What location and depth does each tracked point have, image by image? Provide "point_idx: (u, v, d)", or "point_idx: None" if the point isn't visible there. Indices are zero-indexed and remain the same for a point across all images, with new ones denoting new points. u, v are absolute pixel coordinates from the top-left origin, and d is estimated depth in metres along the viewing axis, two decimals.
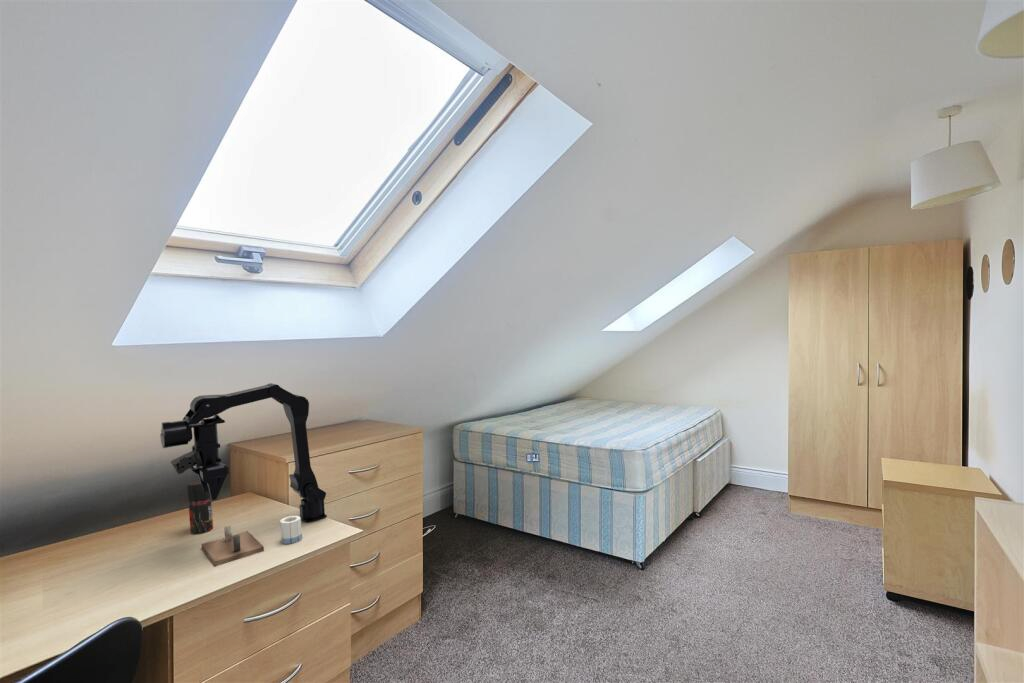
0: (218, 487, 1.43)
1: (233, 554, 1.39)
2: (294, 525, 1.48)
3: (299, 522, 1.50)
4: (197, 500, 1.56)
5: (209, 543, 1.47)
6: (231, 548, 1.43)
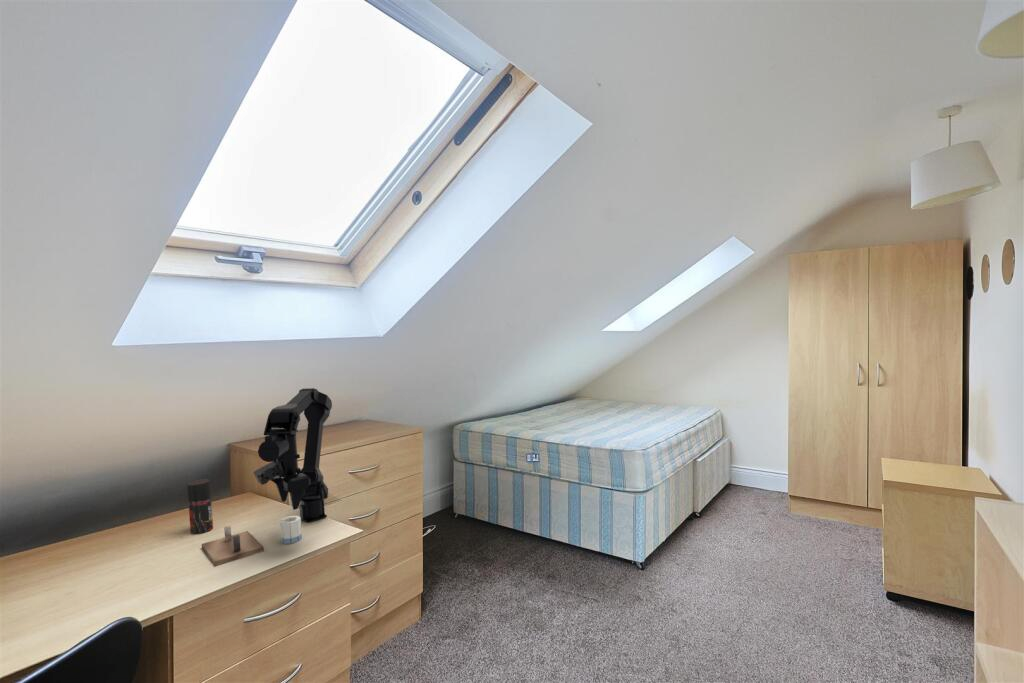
0: (299, 497, 1.46)
1: (233, 554, 1.39)
2: (294, 525, 1.48)
3: (299, 522, 1.50)
4: (197, 500, 1.56)
5: (209, 543, 1.47)
6: (231, 548, 1.43)
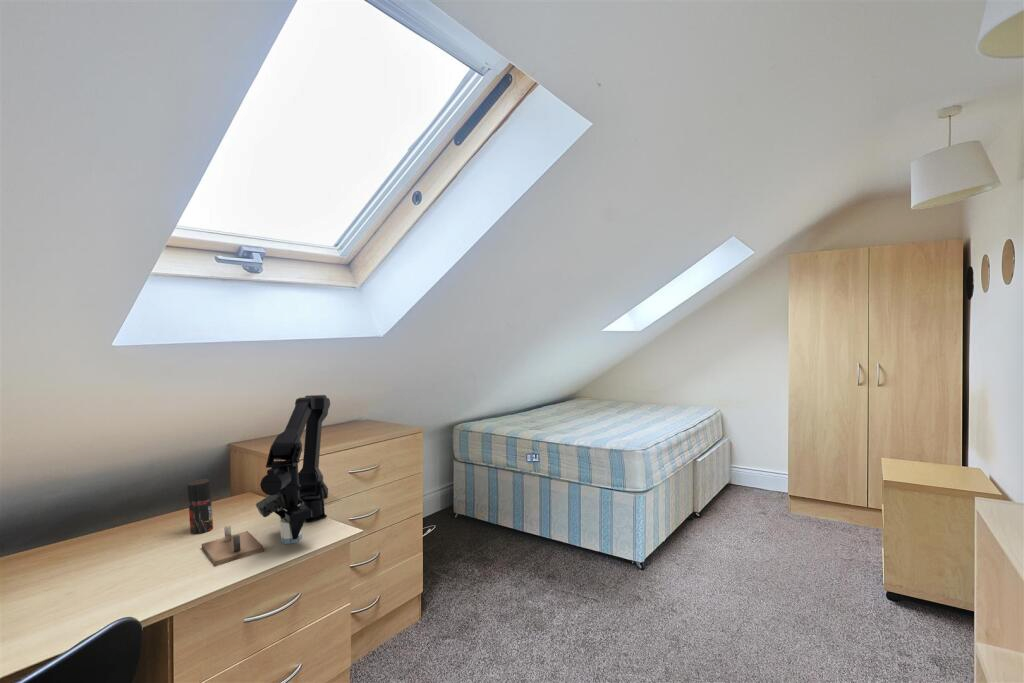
0: (299, 527, 1.48)
1: (233, 554, 1.39)
2: None
3: None
4: (197, 500, 1.56)
5: (209, 543, 1.47)
6: (231, 548, 1.43)
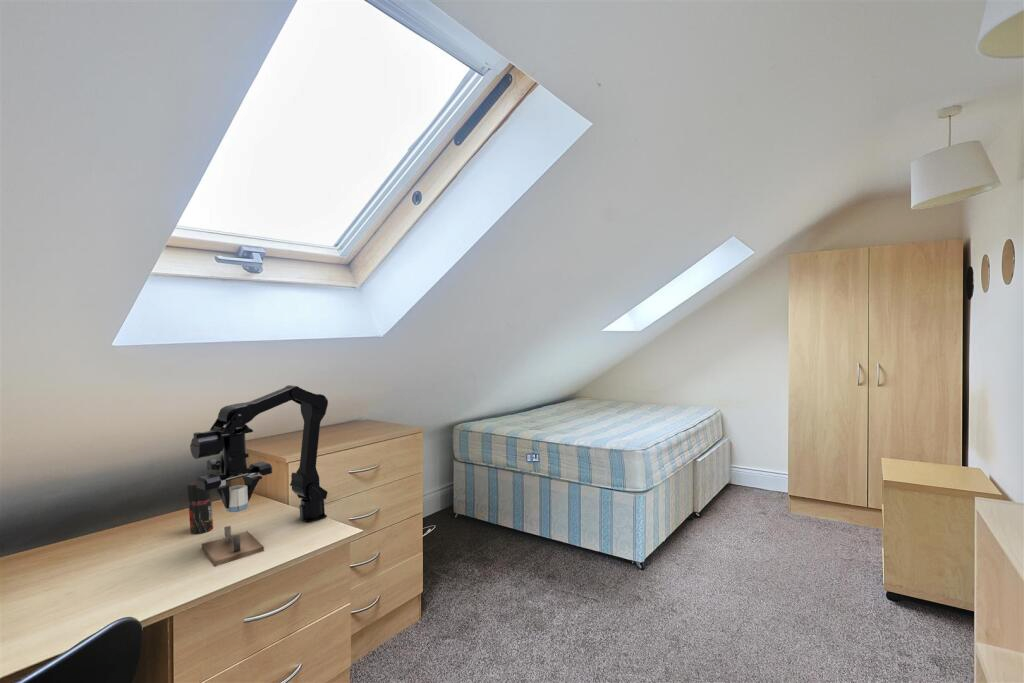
0: (223, 498, 1.44)
1: (233, 554, 1.39)
2: None
3: (233, 494, 1.45)
4: (197, 500, 1.56)
5: (209, 543, 1.47)
6: (231, 548, 1.43)
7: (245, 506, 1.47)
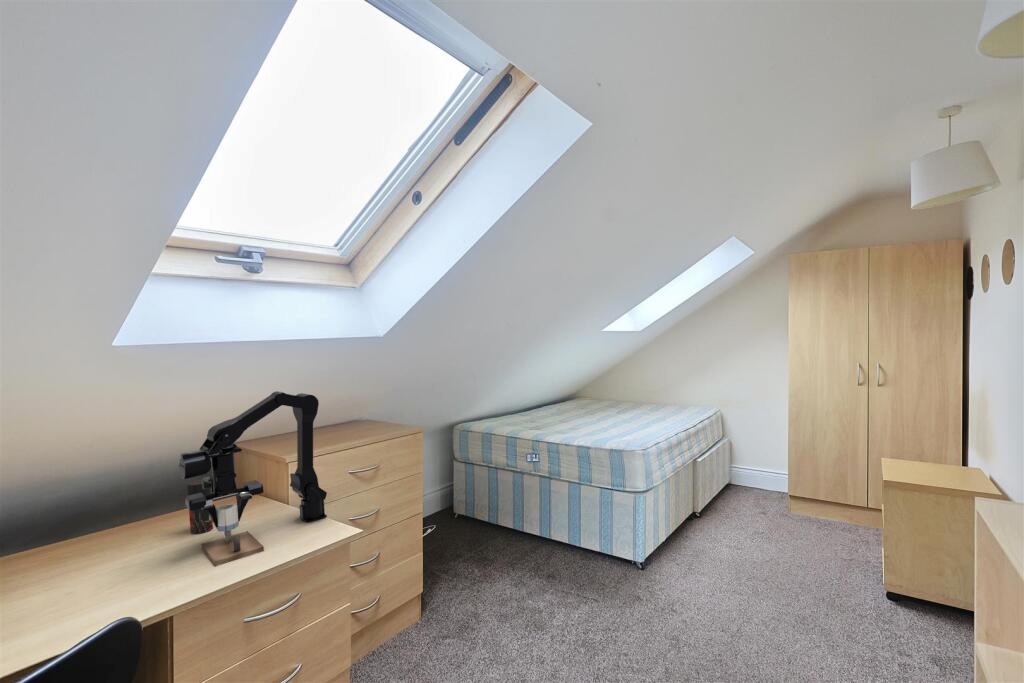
0: (211, 517, 1.44)
1: (233, 554, 1.39)
2: (216, 513, 1.46)
3: (221, 513, 1.45)
4: None
5: (209, 543, 1.47)
6: (231, 548, 1.43)
7: (234, 526, 1.47)
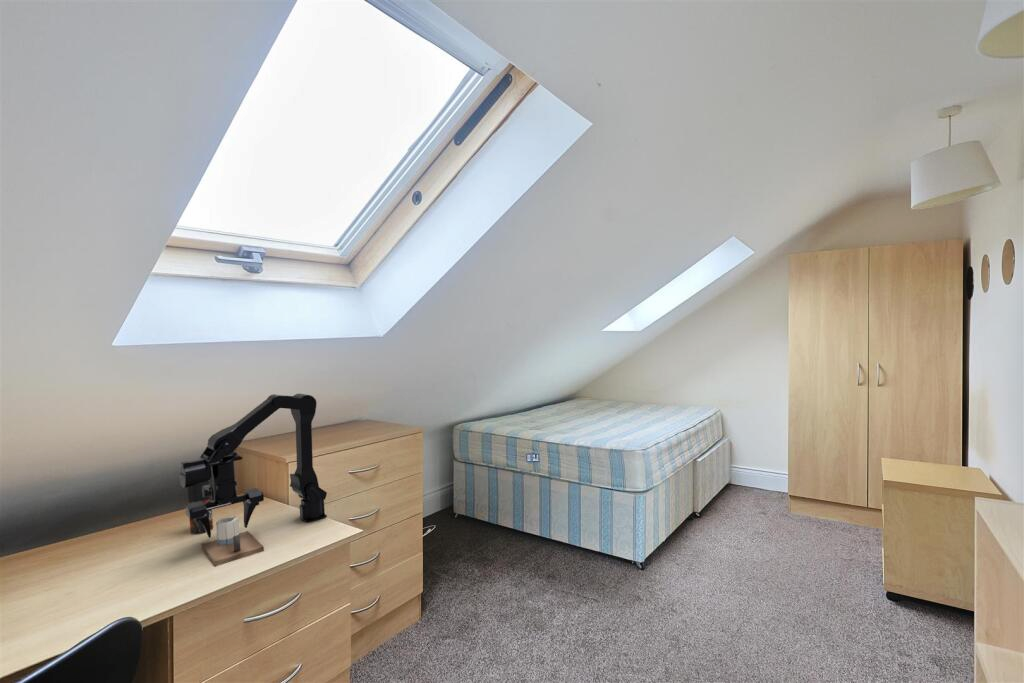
0: (204, 527, 1.43)
1: (233, 554, 1.39)
2: (217, 526, 1.46)
3: (222, 527, 1.45)
4: (197, 500, 1.56)
5: (209, 543, 1.47)
6: (231, 548, 1.43)
7: None
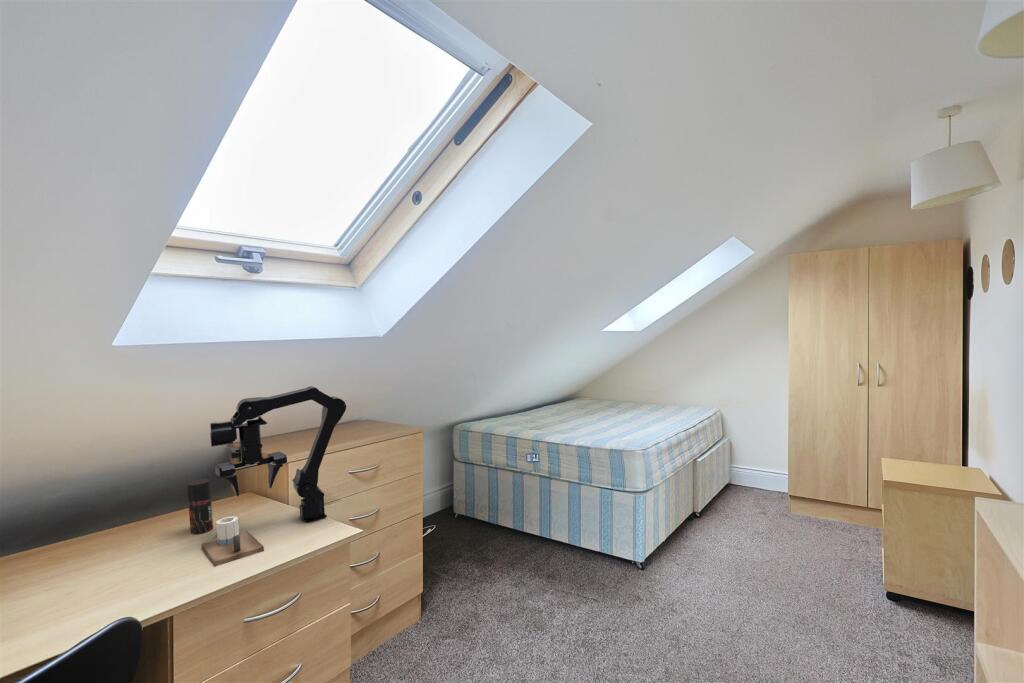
0: (233, 486, 1.52)
1: (233, 554, 1.39)
2: (217, 526, 1.46)
3: (222, 527, 1.45)
4: (197, 500, 1.56)
5: (209, 543, 1.47)
6: (231, 548, 1.43)
7: None
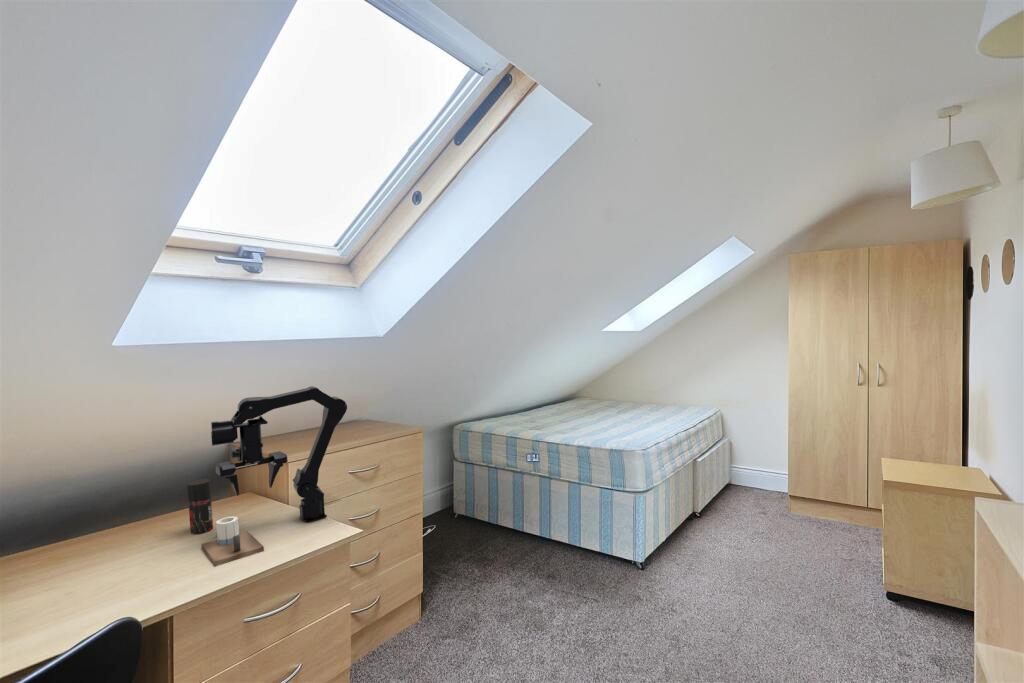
0: (233, 485, 1.53)
1: (233, 554, 1.39)
2: (217, 526, 1.46)
3: (222, 527, 1.45)
4: (197, 500, 1.56)
5: (209, 543, 1.47)
6: (231, 548, 1.43)
7: None
